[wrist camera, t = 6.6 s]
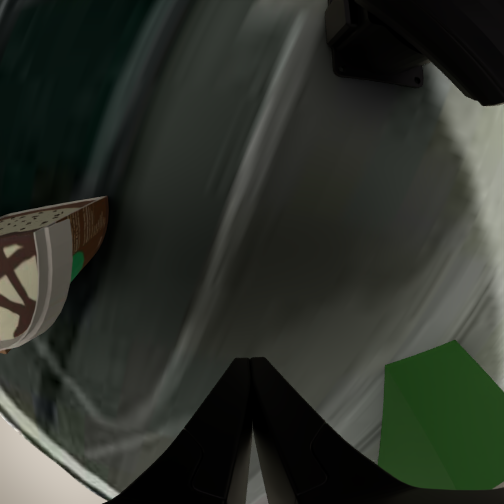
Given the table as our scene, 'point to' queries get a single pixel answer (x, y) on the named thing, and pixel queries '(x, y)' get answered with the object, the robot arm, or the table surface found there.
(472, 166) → the table surface
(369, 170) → the table surface
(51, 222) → the food container
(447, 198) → the table surface
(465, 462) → the hardback book
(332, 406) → the table surface
